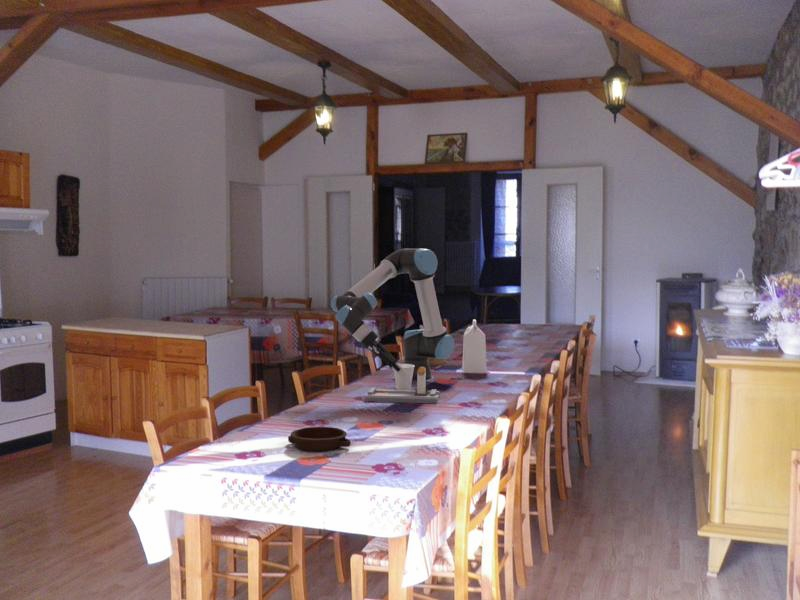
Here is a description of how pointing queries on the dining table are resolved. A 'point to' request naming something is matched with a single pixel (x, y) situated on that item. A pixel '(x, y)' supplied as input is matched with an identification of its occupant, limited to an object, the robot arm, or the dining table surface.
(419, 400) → the switch panel
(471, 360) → the milk
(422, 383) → the lever
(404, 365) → the cup
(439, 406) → the dining table surface
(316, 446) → the dish
